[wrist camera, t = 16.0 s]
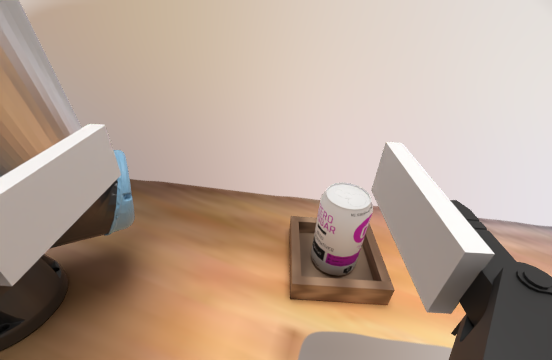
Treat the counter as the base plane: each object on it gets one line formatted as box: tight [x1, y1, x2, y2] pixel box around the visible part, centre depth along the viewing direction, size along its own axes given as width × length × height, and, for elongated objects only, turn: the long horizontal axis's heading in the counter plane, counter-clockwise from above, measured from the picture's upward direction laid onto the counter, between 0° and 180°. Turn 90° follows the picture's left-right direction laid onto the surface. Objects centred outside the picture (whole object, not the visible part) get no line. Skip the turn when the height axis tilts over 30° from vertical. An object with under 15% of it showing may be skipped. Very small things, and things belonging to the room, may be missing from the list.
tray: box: [290, 216, 394, 305], centre depth 50 cm, size 16×16×4 cm
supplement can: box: [311, 183, 373, 276], centre depth 46 cm, size 8×8×15 cm
